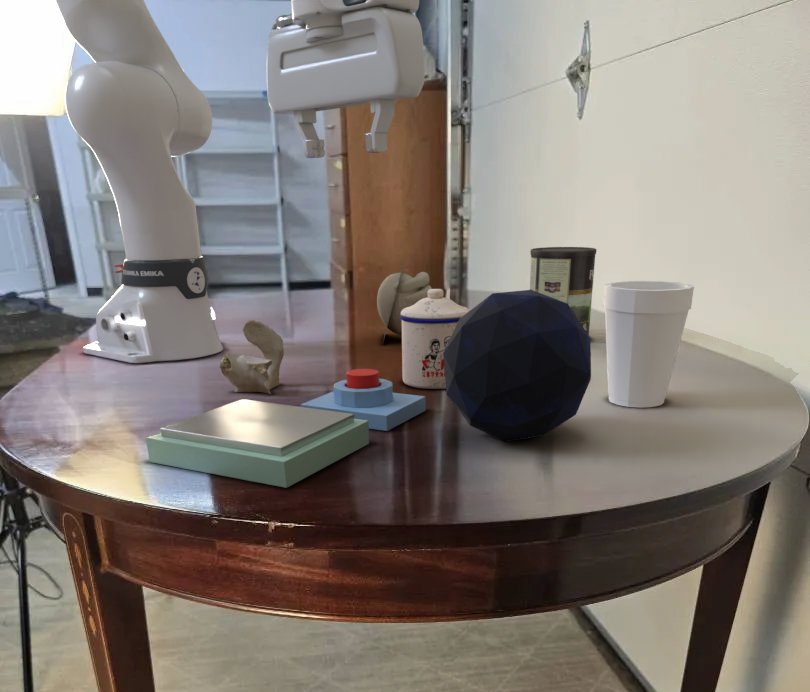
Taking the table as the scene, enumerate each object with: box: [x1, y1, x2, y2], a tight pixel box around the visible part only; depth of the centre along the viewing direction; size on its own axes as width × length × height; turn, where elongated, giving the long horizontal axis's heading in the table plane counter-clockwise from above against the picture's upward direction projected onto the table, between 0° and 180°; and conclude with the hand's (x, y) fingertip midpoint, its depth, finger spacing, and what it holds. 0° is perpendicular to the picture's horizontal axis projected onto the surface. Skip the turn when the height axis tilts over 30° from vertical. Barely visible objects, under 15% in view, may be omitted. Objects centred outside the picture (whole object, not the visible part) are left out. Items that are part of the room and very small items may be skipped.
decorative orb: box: [443, 289, 592, 443], centre depth 76 cm, size 14×15×15 cm
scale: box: [145, 398, 370, 489], centre depth 75 cm, size 16×14×3 cm
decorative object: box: [376, 261, 433, 343], centre depth 128 cm, size 13×10×10 cm
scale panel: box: [300, 378, 426, 432], centre depth 87 cm, size 11×9×4 cm
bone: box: [219, 319, 285, 395], centre depth 97 cm, size 9×6×10 cm
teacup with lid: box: [400, 288, 471, 390], centre depth 100 cm, size 12×9×12 cm
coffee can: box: [529, 246, 597, 336], centre depth 125 cm, size 10×10×14 cm
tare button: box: [346, 368, 380, 389], centre depth 86 cm, size 4×4×2 cm
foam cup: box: [602, 280, 695, 409], centre depth 88 cm, size 10×9×13 cm
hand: (344, 155), depth 83 cm, fingers open, 8 cm apart
